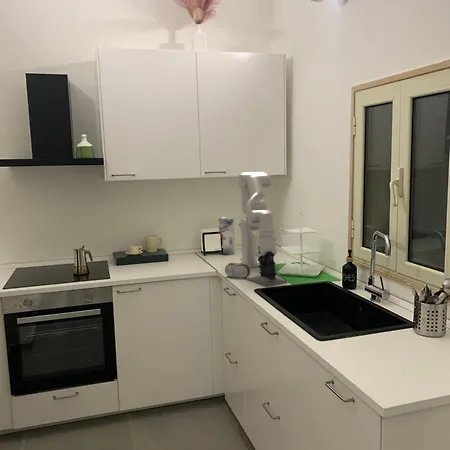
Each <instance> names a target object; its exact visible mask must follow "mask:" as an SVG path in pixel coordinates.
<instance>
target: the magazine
mask: <svg viewBox="0 0 450 450" xmlns="http://www.w3.org/2000/svg"><path fill="white" fill-rule="evenodd" d="M273 255H274V254H273V253H272V252H267V253H266V255H265V266H266V267H265V268H264V267H261V260H260V259H259V257H257V262H258V263H259V266H258V268H259V270H260V272H259V275H260V276H262V277H264V278H267V279H270V280H275V279H276V278H277V272H276V264H277V263H276V261H275V259H274V257H273Z"/></svg>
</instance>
